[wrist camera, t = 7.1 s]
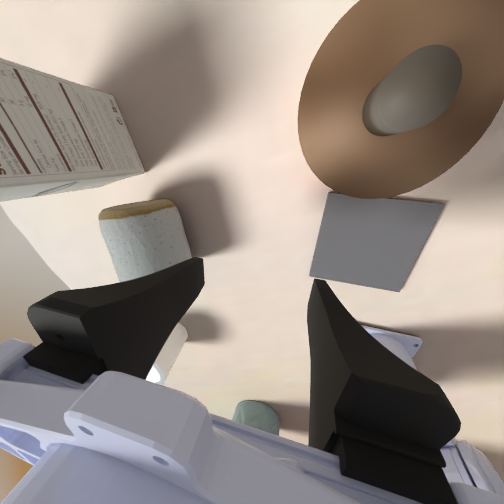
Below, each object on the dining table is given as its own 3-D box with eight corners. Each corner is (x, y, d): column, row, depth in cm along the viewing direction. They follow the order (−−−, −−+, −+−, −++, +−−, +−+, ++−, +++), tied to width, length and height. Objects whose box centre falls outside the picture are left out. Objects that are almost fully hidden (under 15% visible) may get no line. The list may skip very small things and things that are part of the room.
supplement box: (101, 188, 23) (-81, 216, 12) (64, 117, 20) (-213, 70, 9) (148, 174, 21) (-21, 193, 10) (115, 92, 18) (-172, -6, 7)
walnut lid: (440, 203, 13) (489, 220, 9) (288, 190, 15) (283, 199, 11) (558, -33, 8) (732, -163, 5) (314, -9, 10) (320, -91, 7)
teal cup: (282, 404, 34) (273, 513, 24) (284, 433, 38) (277, 537, 28) (229, 393, 37) (199, 487, 26) (236, 421, 41) (213, 512, 31)
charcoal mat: (397, 289, 20) (399, 292, 20) (309, 274, 22) (309, 276, 21) (441, 203, 16) (444, 204, 16) (328, 192, 18) (329, 192, 17)
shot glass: (155, 308, 31) (118, 345, 25) (193, 325, 30) (166, 367, 24) (153, 334, 34) (121, 373, 28) (188, 350, 34) (163, 392, 28)
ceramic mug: (188, 192, 21) (132, 209, 14) (206, 259, 24) (167, 298, 18) (115, 202, 24) (40, 219, 17) (139, 260, 27) (85, 293, 21)
